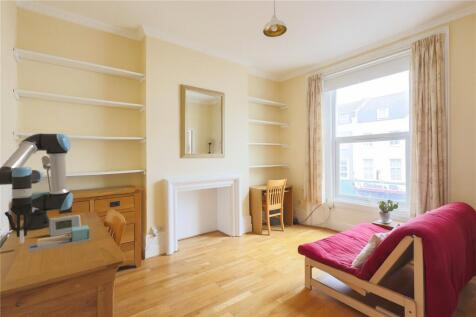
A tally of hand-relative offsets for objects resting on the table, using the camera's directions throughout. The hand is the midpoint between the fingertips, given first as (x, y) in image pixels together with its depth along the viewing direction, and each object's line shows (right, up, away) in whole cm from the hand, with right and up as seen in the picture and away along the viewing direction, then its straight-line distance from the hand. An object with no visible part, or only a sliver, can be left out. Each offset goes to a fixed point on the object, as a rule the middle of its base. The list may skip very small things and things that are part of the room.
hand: (21, 242), depth 121 cm
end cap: (+19, -3, +16) cm, 25 cm away
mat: (+13, -4, +10) cm, 17 cm away
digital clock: (+3, -4, +26) cm, 27 cm away
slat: (+10, -3, +8) cm, 13 cm away
